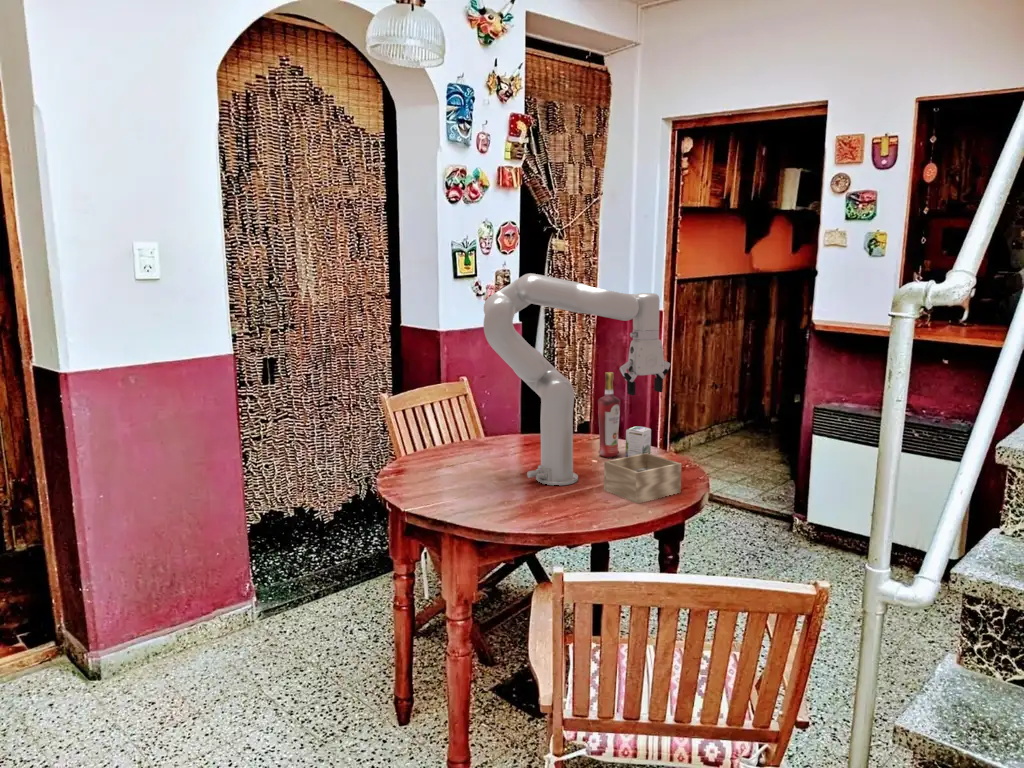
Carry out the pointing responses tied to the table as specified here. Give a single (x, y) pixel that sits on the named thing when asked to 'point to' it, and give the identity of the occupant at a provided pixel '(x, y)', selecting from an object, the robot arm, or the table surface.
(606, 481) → the box
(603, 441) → the liquor
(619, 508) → the table surface
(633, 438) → the syrup box
